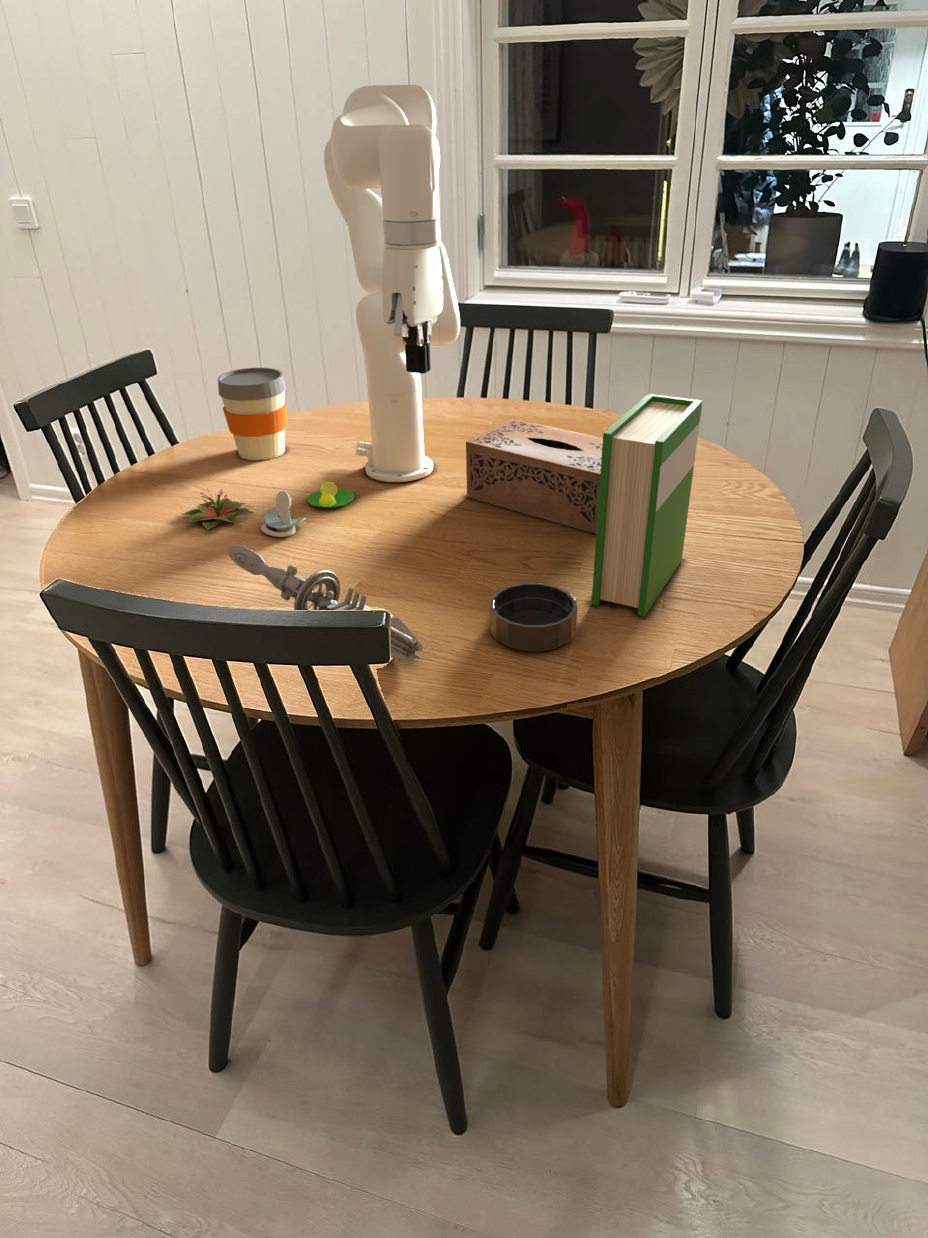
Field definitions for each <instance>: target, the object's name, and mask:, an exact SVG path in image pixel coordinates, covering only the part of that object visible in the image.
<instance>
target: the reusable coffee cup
mask: <svg viewBox="0 0 928 1238" xmlns="http://www.w3.org/2000/svg"><path fill="white" fill-rule="evenodd" d="M217 389H218V390H217V391H218V396H219V397H220V398H221V400H222V404H223V407H222V410H223V414H224V417H225V421H226V424H227V427H228V430H229V432H230V433H231V434H232V436H233V440H234V443H235V446H236V449H237V452H238V456H239V457H240V458H241V459H244V460H249V461H265V460H271V459H274V458H278V457H280V456H281V455H283V454H284V453H285V451H286V431H285V430H286V428H287V427H288V414H287V413H288V411H287V410H288V409H287V408H288V404H287V401H286V400H285V391H286V389H287V386H286V382H285V378H284V374H283V371H281V370H280V369H276V368H273V367H245V368H238V369H234V370H230V371H226V372H223V373H222V374H220V375H219V376H218V377H217Z"/></svg>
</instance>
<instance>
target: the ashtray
mask: <svg viewBox="0 0 928 1238" xmlns="http://www.w3.org/2000/svg"><path fill="white" fill-rule="evenodd" d="M577 621H578V603H577V599H576V597H574V596H573V595H572V594H571V593H570V592H569V591H567V590H565V589H563V588H561V587H559V586H557V585H553V584H552V585H551V584H547V583H542V582H522V583H517V584H512V585H508V586H505V587H503V588H501V589H500V590H498V591H496V592H495V593H494V595H492V596H491V598H490V600H489V632H490V633H491V635H492V637H494V639H495V640H496V641H497V642H499V643H501V644H502V645H504V646H506V647H508V648H510V649H513V650H517V651H520V652H526V653H527V652H528V653H540V652H547V651H553V650H555V649H558V648H560V647H562V646H564V645H565V644H567V643H569V642H571V641H572V639H573V637H574V636H575V635H576V632H577V623H578V622H577Z"/></svg>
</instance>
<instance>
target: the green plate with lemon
mask: <svg viewBox="0 0 928 1238" xmlns="http://www.w3.org/2000/svg"><path fill="white" fill-rule="evenodd" d="M319 489H320V490H318V491H315V492H313V493H312V494H310V495H309V496H308V497H307V502H308V503H309V504H310V505H312V506H314V507H318V508H322V509H334V508H339V507H343V506H345V505H347V504H349V503H351V502H352V501H353V500H354V499H355V494H354V493H353V492H352V491H350V490H348V489H344V488H338V487H337V485H336V484H335V483H334V482H332V481H325V482H323V483H322V484H321V485H320V488H319Z"/></svg>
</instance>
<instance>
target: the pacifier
mask: <svg viewBox="0 0 928 1238" xmlns="http://www.w3.org/2000/svg"><path fill="white" fill-rule="evenodd" d="M275 495H276V496H275V499H274V500H275V506H276V508H270V509H267V510H266V511H265V512H264V514H263V520H264V522H265V523H263V524H262V525H261V527H260V530H261V531H262V532H263V534H265V535H268V536H271V537H276V538H284V537H285V538H286V537H290V536H293V535H294V534H295V533H296V531H297V530H296V526H297V525H299V524H301V523H303V522H304V521H306V517H298V518H292V517H291V512H290V509H291V506H292V498H291V495H290V494H289V493H288V492H286V491H284V490H280V491H278V492H277V494H275ZM278 516H279V517H278ZM269 528H272V529H275V530H276V531H274V530H271V529H269Z"/></svg>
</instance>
